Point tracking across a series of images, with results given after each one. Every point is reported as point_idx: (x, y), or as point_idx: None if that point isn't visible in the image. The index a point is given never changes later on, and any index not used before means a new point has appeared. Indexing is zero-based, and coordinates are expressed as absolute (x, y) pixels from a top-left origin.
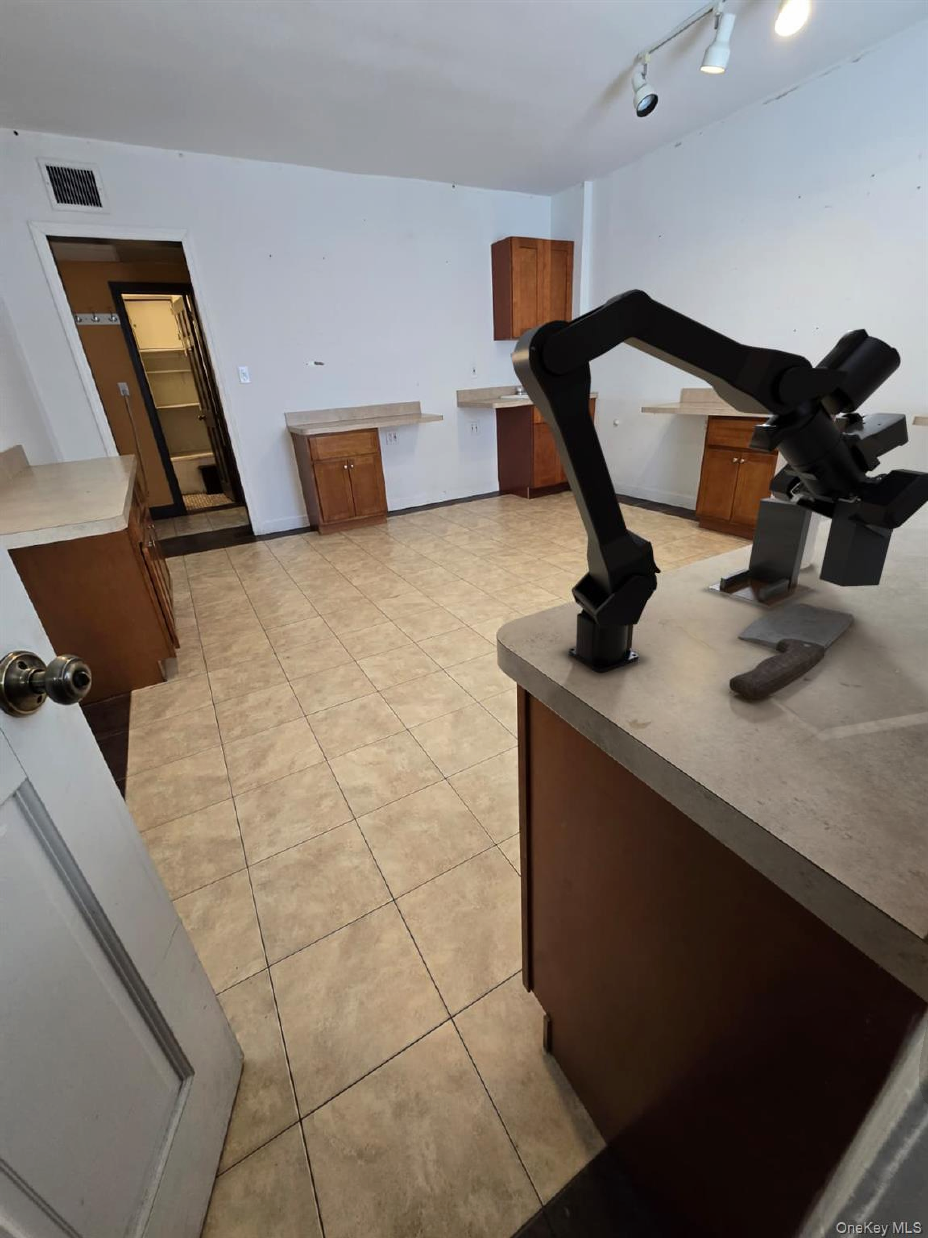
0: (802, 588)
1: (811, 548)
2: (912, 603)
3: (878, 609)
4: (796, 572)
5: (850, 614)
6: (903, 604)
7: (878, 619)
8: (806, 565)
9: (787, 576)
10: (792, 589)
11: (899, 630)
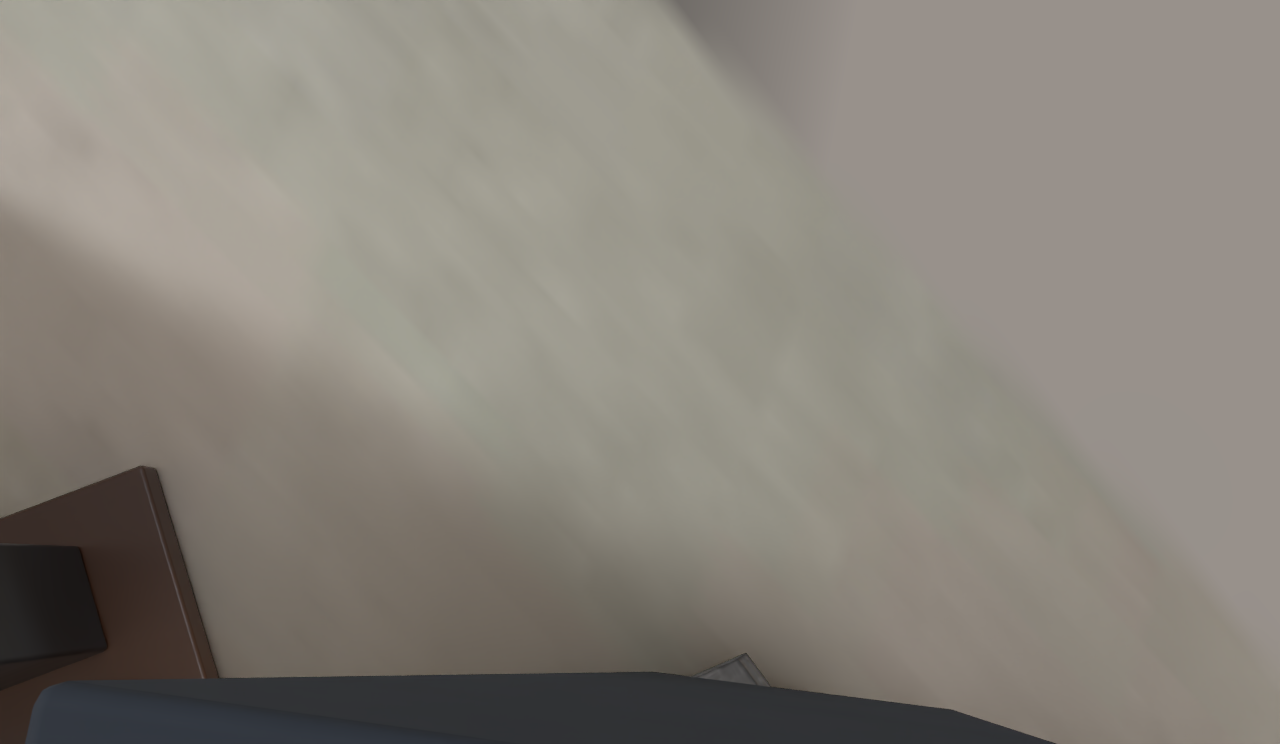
0: (140, 541)
1: None
2: (618, 5)
3: (623, 293)
4: (17, 598)
5: (731, 672)
6: (611, 71)
7: (761, 438)
8: None
9: (15, 673)
10: (122, 628)
11: (950, 463)
